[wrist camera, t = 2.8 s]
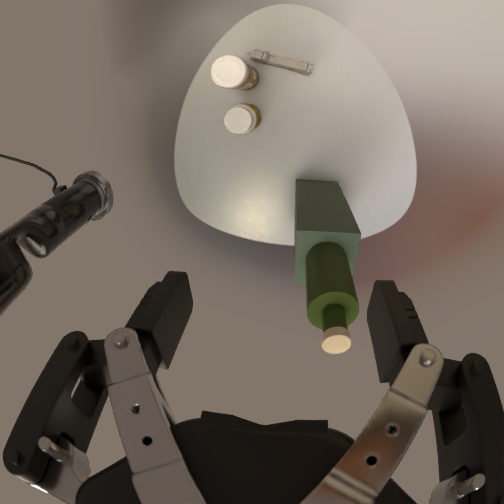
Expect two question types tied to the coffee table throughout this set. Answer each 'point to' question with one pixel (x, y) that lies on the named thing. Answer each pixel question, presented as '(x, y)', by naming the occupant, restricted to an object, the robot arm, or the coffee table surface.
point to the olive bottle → (330, 295)
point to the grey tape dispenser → (281, 62)
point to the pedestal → (322, 223)
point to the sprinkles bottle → (234, 73)
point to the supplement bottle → (242, 118)
